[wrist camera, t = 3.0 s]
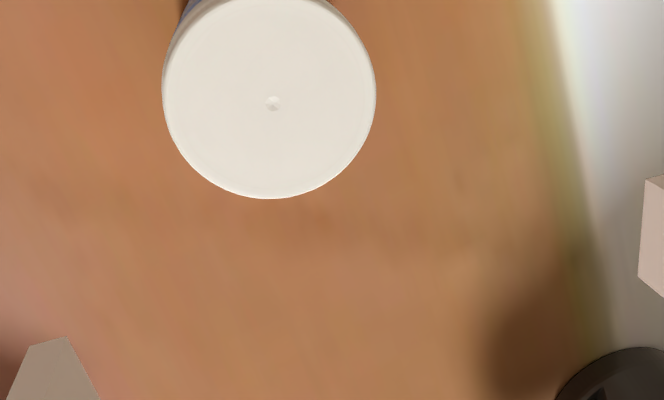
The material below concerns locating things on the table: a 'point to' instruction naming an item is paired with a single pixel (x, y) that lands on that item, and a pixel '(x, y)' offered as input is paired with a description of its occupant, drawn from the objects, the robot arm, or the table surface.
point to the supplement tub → (267, 94)
